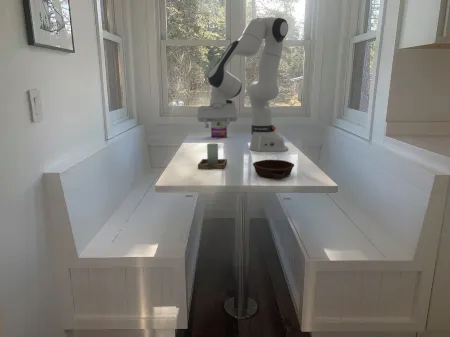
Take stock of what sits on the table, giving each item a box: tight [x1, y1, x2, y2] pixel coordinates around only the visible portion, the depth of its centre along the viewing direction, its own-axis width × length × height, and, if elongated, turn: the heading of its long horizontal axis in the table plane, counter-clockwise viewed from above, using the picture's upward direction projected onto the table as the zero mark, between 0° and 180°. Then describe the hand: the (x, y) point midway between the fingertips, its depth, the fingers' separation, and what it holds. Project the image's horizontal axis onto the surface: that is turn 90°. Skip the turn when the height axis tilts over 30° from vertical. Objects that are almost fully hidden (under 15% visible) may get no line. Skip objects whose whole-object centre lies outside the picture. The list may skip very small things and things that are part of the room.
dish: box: [252, 159, 295, 180], centre depth 152 cm, size 18×22×5 cm
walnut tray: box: [197, 158, 228, 170], centre depth 168 cm, size 12×12×2 cm
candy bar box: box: [210, 122, 228, 138], centre depth 254 cm, size 11×5×16 cm, turn 80°
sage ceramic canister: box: [206, 143, 219, 164], centre depth 167 cm, size 5×5×10 cm
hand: (216, 127), depth 176 cm, fingers open, 8 cm apart
